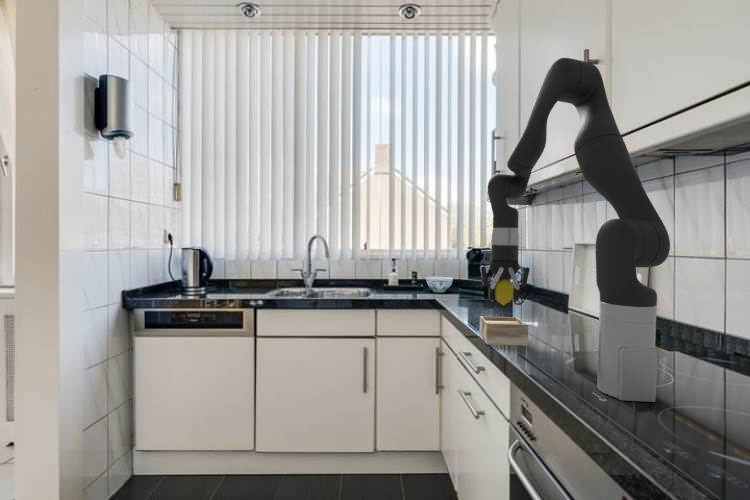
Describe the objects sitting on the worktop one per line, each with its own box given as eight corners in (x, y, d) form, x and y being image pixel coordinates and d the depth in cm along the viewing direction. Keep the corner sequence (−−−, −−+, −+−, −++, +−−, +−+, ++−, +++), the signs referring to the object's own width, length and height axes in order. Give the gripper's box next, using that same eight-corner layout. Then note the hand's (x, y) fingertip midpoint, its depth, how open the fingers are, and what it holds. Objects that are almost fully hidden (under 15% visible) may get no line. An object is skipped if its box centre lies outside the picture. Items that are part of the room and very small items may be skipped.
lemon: (489, 304, 119) (490, 277, 118) (504, 303, 121) (505, 276, 120) (501, 307, 113) (502, 279, 113) (517, 306, 115) (518, 278, 115)
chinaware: (421, 290, 230) (421, 276, 230) (444, 289, 235) (445, 276, 235) (432, 293, 216) (433, 279, 216) (457, 293, 221) (457, 279, 220)
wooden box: (527, 346, 111) (528, 325, 111) (486, 345, 112) (487, 323, 112) (516, 337, 122) (517, 317, 122) (479, 335, 123) (479, 316, 123)
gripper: (482, 243, 113) (480, 303, 114) (534, 244, 112) (532, 304, 113) (477, 243, 121) (476, 299, 121) (526, 244, 120) (525, 300, 120)
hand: (503, 301), depth 117 cm, fingers closed on lemon, 5 cm apart
